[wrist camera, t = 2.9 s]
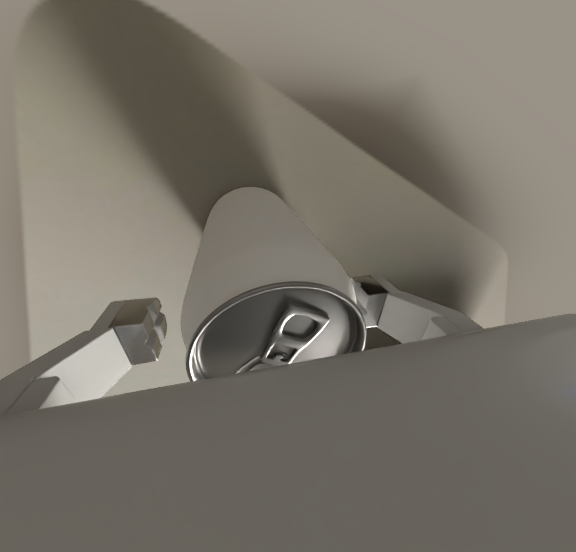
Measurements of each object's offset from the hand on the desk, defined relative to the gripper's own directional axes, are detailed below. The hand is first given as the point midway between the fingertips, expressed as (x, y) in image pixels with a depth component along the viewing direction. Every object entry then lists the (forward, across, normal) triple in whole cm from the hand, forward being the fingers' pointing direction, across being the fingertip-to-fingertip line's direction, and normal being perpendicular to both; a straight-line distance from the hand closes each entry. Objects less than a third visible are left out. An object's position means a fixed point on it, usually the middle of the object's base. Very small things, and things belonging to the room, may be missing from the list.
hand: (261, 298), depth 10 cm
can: (+9, 0, 0) cm, 9 cm away
